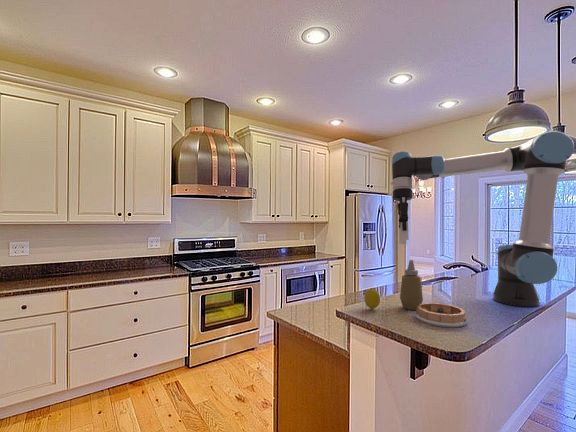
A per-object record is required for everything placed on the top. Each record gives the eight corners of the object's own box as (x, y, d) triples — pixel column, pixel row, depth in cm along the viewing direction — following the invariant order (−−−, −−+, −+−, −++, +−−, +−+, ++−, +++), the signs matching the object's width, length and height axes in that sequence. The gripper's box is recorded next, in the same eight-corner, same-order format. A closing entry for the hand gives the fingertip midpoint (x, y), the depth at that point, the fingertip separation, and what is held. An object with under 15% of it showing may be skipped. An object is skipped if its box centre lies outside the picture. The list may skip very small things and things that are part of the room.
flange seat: (440, 311, 112) (440, 301, 112) (477, 324, 97) (477, 313, 97) (406, 315, 107) (406, 304, 107) (439, 329, 93) (439, 317, 93)
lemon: (369, 312, 110) (369, 290, 110) (361, 308, 116) (361, 286, 116) (383, 311, 112) (382, 289, 112) (374, 307, 117) (374, 285, 117)
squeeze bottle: (401, 310, 112) (401, 261, 113) (398, 304, 120) (398, 258, 121) (425, 312, 111) (424, 262, 111) (420, 306, 118) (420, 259, 119)
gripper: (392, 197, 138) (393, 245, 134) (393, 180, 114) (394, 237, 110) (410, 197, 135) (411, 245, 131) (414, 179, 112) (416, 237, 108)
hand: (403, 242), depth 121 cm, fingers open, 13 cm apart
